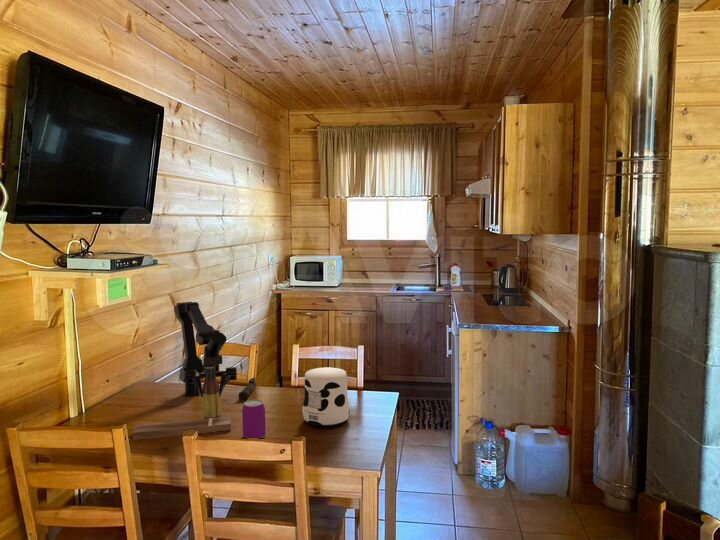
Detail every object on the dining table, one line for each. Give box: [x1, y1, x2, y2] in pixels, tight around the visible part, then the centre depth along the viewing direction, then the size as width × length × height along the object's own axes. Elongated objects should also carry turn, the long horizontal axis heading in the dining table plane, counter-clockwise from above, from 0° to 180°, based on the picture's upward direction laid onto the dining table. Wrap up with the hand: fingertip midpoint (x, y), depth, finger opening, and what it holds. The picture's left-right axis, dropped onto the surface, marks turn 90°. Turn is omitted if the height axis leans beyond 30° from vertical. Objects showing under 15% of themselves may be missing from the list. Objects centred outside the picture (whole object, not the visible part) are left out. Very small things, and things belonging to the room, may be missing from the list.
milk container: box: [301, 366, 351, 427], centre depth 190 cm, size 17×17×18 cm
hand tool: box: [238, 377, 257, 401], centre depth 223 cm, size 19×4×5 cm, turn 175°
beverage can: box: [241, 398, 267, 439], centre depth 177 cm, size 8×8×12 cm
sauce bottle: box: [202, 366, 222, 419], centre depth 192 cm, size 6×6×20 cm
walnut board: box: [132, 416, 232, 441], centre depth 182 cm, size 7×32×3 cm, turn 103°
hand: (210, 395), depth 191 cm, fingers closed on sauce bottle, 6 cm apart
